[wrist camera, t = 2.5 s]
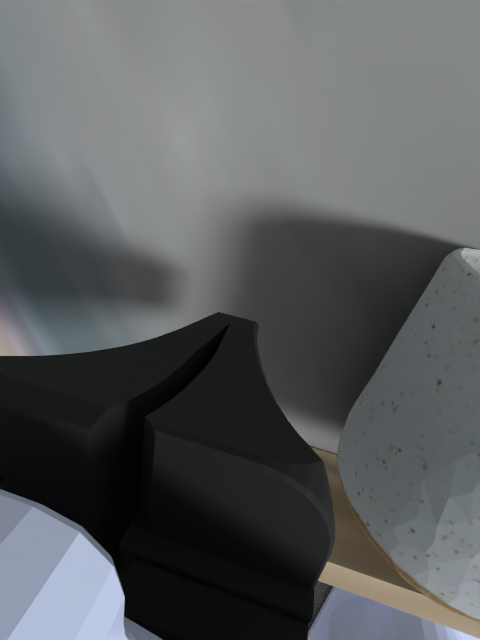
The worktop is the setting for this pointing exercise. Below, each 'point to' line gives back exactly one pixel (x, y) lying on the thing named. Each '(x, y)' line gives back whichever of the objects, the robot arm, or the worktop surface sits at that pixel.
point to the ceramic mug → (424, 443)
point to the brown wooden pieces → (375, 566)
